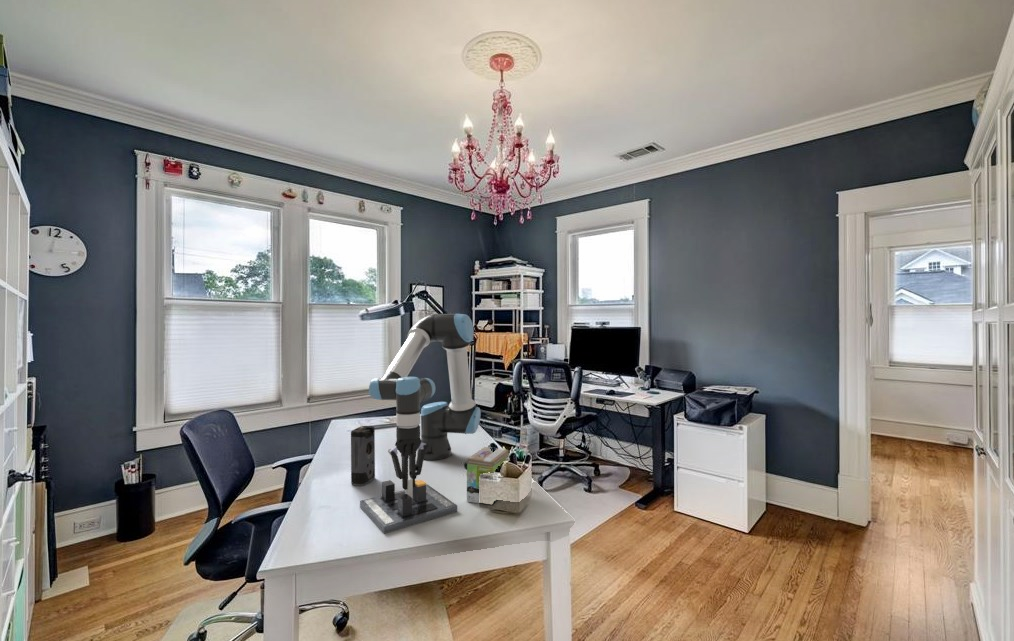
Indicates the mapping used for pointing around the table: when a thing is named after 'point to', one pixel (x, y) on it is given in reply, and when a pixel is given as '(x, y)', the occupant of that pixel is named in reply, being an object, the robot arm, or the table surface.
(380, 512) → the panel
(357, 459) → the electronic device
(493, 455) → the tea box
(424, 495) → the block
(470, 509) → the table surface
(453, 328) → the robot arm
